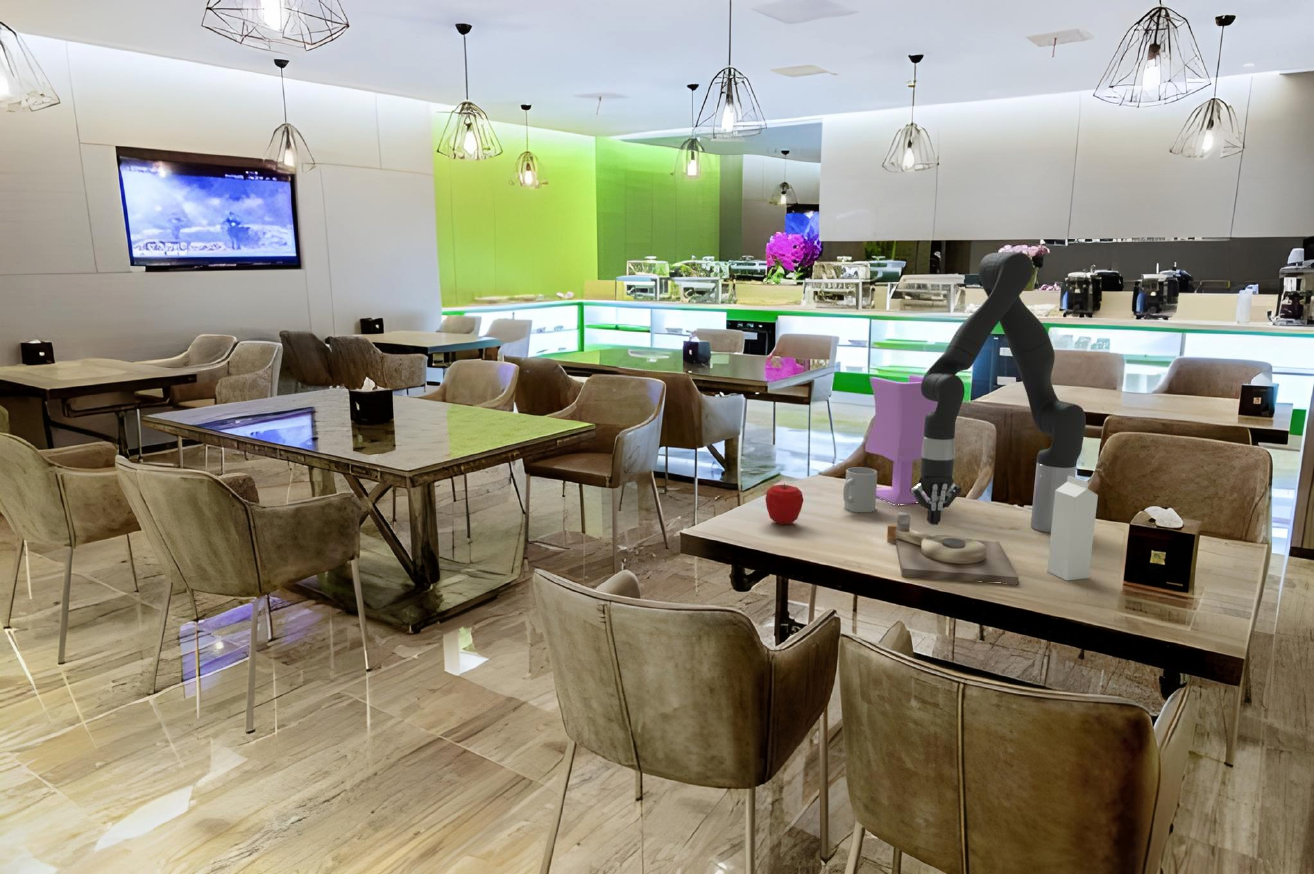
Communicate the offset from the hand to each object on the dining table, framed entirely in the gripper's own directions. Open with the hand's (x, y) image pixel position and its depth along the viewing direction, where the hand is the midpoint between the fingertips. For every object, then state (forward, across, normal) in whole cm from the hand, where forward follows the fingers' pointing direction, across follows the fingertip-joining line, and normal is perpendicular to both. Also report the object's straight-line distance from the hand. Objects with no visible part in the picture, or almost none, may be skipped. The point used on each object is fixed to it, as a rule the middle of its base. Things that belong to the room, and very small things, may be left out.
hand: (933, 524), depth 208 cm
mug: (+5, +7, -30) cm, 31 cm away
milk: (+5, -19, +25) cm, 32 cm away
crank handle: (+3, +4, +10) cm, 11 cm away
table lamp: (+5, -11, -40) cm, 41 cm away
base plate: (+5, +3, +12) cm, 13 cm away
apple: (+5, +31, -21) cm, 38 cm away
